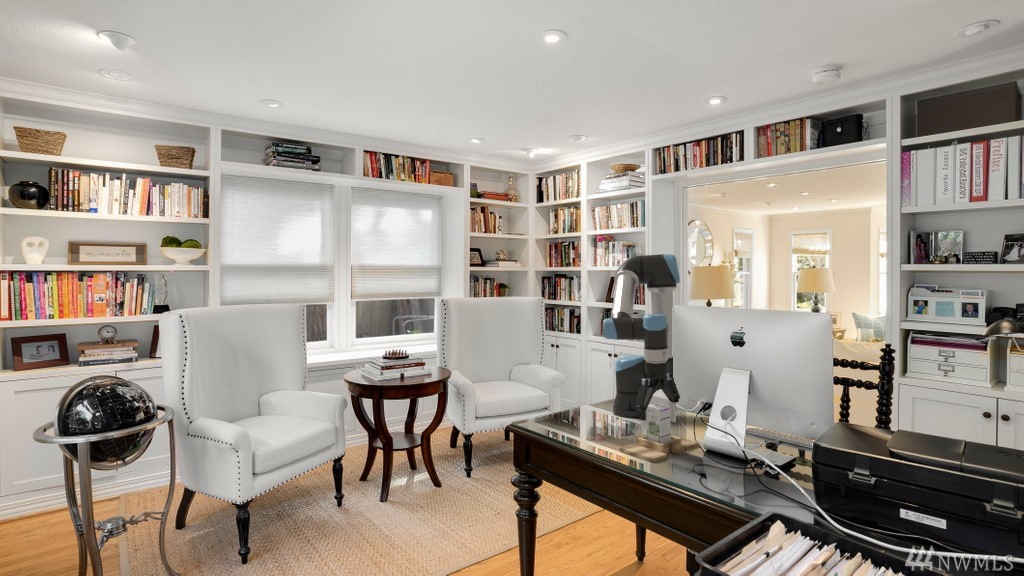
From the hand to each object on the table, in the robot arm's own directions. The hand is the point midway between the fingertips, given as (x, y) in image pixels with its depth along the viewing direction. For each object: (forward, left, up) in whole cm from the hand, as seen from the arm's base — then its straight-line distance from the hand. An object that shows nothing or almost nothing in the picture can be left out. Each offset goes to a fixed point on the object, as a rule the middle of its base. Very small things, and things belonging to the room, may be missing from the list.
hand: (658, 425), depth 176 cm
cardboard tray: (0, 0, -8) cm, 8 cm away
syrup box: (0, 0, -8) cm, 8 cm away
